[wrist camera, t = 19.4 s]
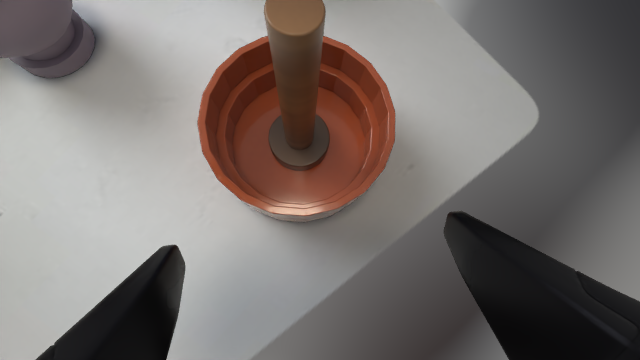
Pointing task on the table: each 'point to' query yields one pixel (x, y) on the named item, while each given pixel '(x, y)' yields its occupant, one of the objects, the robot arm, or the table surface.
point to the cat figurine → (44, 36)
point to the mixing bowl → (263, 108)
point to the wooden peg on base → (297, 81)
